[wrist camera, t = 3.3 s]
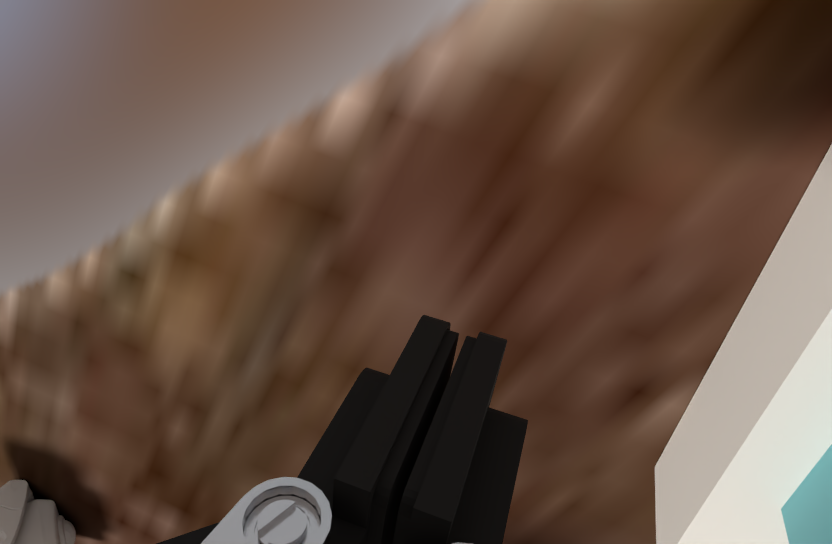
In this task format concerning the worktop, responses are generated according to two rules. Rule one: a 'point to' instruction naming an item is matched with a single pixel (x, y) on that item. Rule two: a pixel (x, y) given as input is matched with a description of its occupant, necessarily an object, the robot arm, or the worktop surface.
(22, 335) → the worktop surface
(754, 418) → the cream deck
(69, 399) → the worktop surface
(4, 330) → the worktop surface
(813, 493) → the teal tile
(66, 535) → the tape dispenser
